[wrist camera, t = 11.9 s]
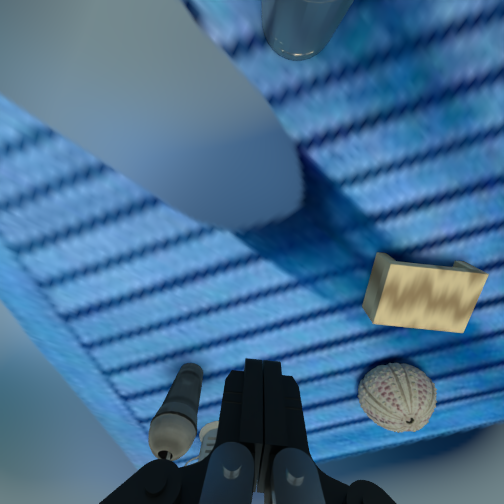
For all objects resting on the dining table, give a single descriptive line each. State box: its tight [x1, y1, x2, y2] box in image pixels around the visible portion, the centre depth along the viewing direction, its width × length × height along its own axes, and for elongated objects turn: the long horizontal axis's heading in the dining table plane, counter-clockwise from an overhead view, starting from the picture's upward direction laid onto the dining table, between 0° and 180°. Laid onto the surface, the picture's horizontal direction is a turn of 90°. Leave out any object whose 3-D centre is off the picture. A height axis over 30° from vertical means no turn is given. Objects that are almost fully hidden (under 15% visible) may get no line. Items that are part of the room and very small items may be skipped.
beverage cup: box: [149, 363, 203, 461], centre depth 43 cm, size 7×7×20 cm
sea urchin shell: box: [358, 362, 437, 433], centre depth 48 cm, size 13×14×8 cm
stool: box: [362, 252, 489, 333], centre depth 43 cm, size 10×5×14 cm
